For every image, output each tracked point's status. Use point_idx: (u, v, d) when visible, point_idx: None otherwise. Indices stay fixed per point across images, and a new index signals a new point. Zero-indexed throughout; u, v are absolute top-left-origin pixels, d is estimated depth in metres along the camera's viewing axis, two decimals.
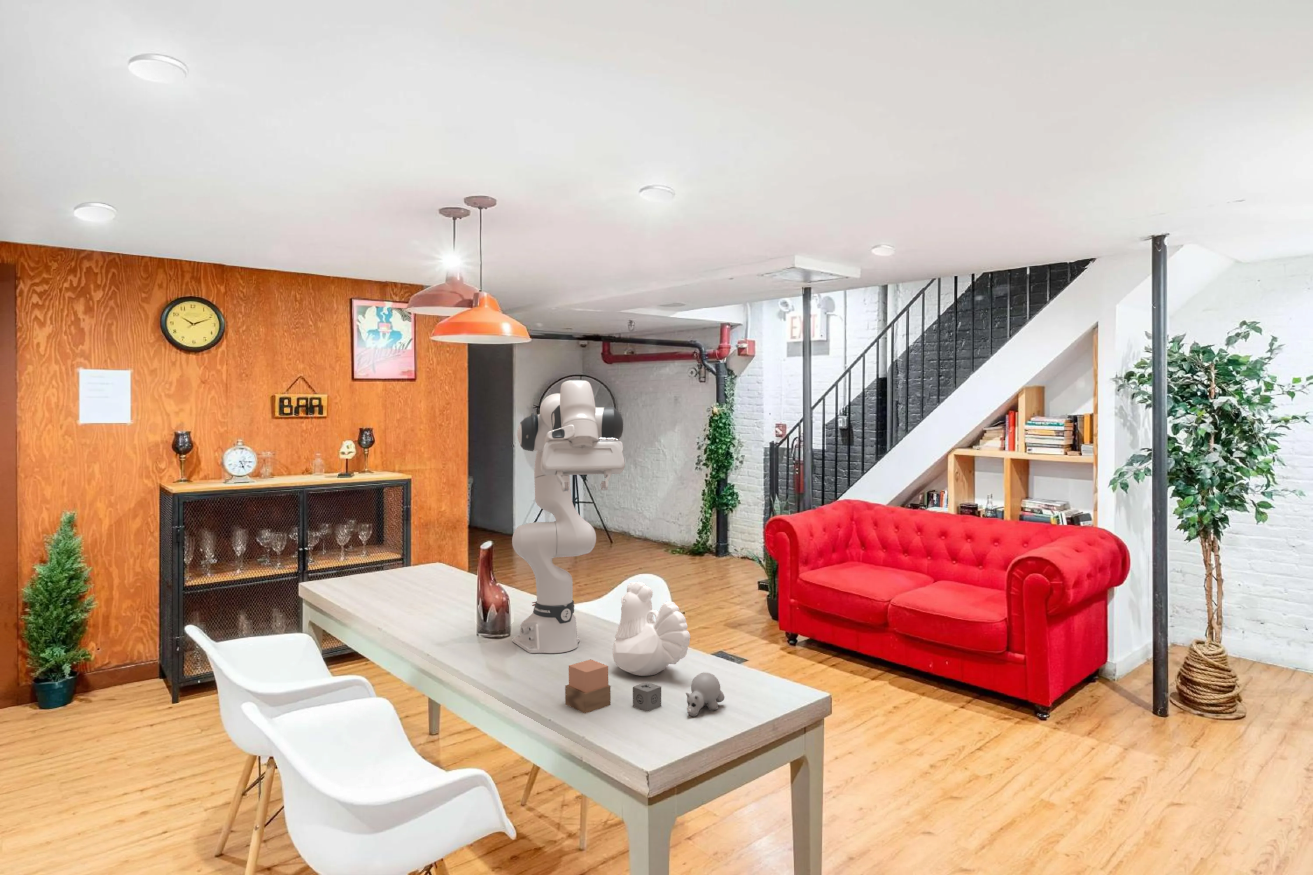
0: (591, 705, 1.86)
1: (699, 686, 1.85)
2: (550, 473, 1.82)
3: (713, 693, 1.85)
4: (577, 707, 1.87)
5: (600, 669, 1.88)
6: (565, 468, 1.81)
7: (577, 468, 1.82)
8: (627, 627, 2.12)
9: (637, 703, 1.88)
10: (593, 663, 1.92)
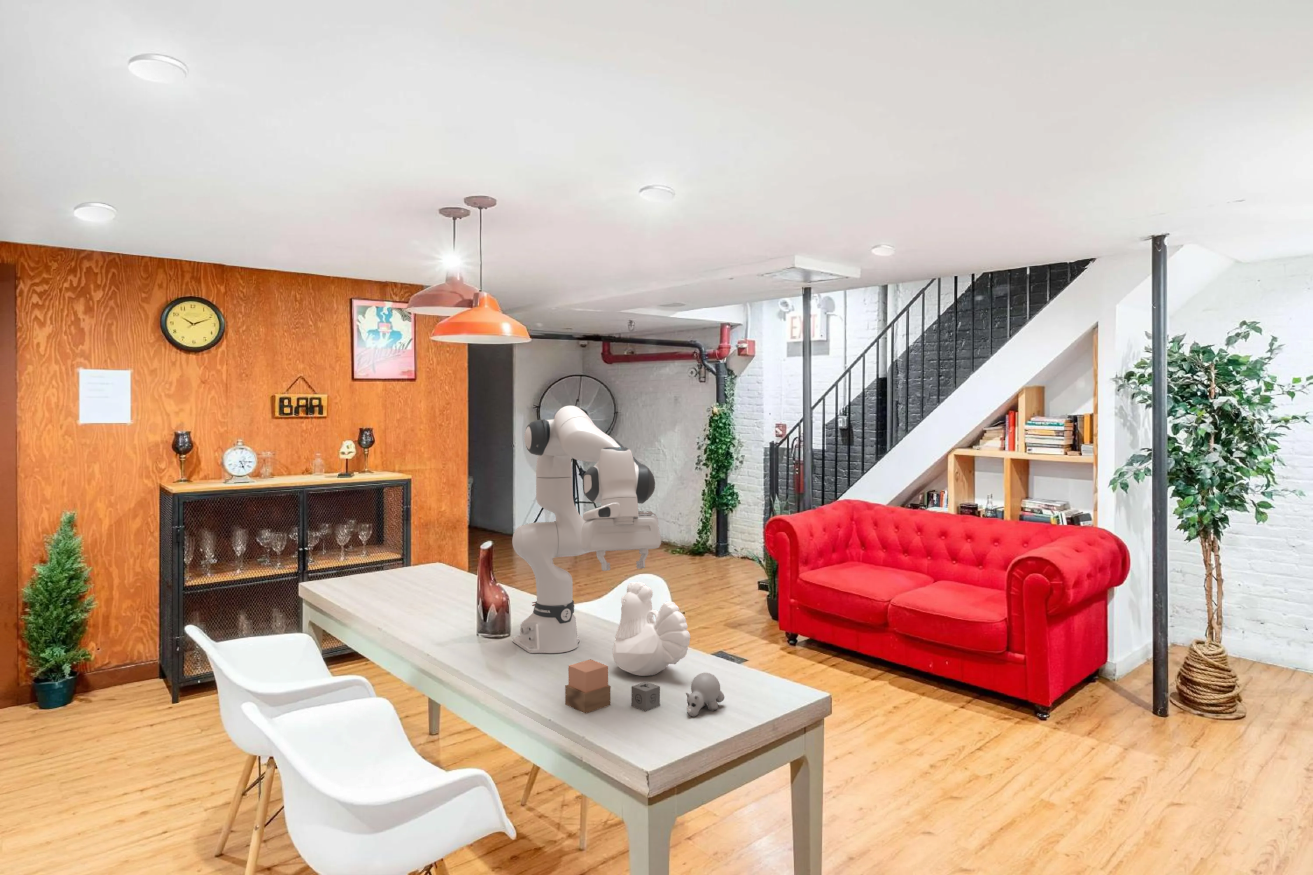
0: (591, 705, 1.86)
1: (699, 686, 1.85)
2: (592, 551, 1.79)
3: (713, 694, 1.85)
4: (577, 707, 1.87)
5: (600, 669, 1.88)
6: (608, 548, 1.79)
7: (619, 548, 1.81)
8: (627, 627, 2.12)
9: (636, 703, 1.88)
10: (593, 663, 1.91)
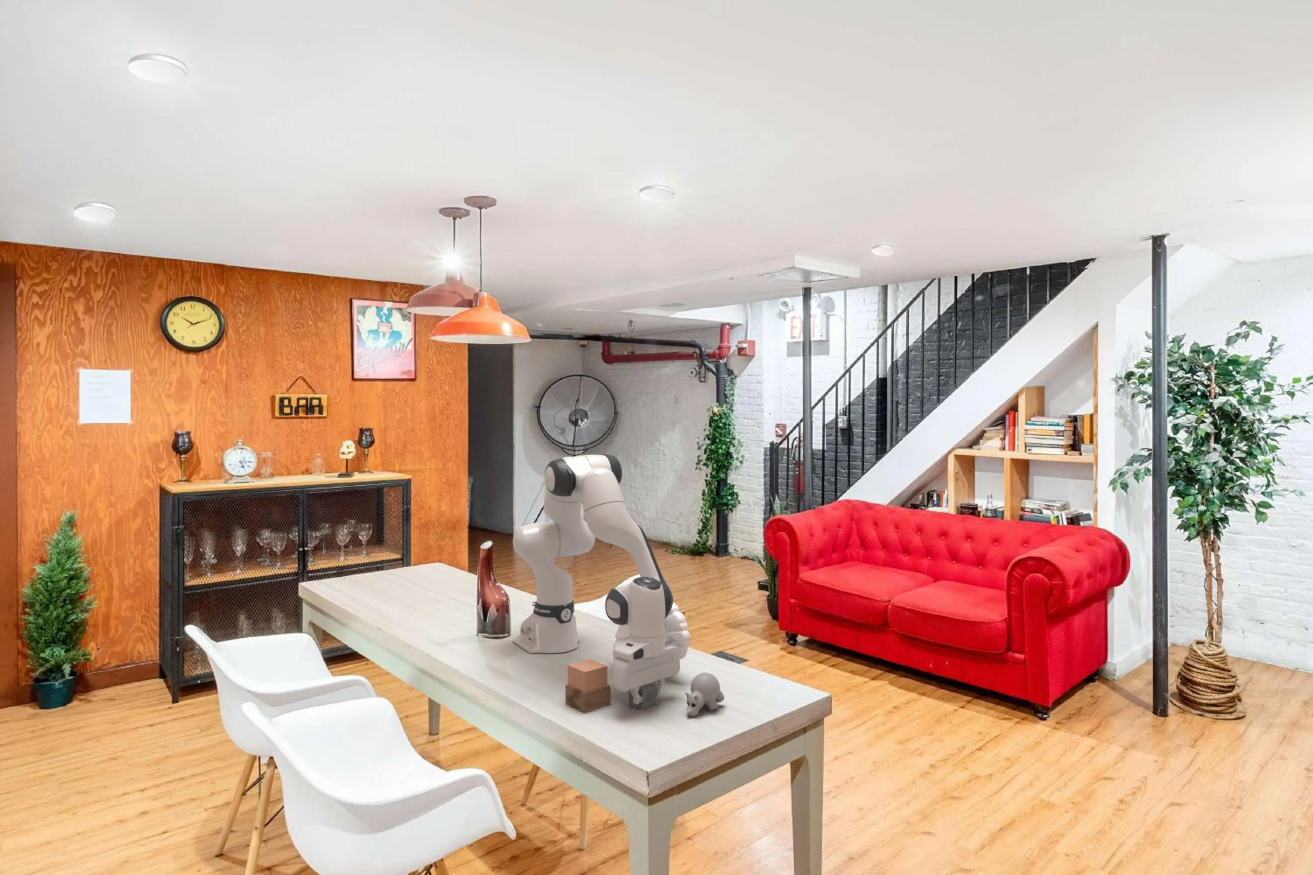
0: (591, 705, 1.86)
1: (699, 686, 1.85)
2: None
3: (713, 694, 1.84)
4: (577, 706, 1.87)
5: (599, 669, 1.88)
6: (638, 686, 1.84)
7: (646, 683, 1.86)
8: (627, 627, 2.12)
9: (632, 701, 1.89)
10: (592, 663, 1.92)
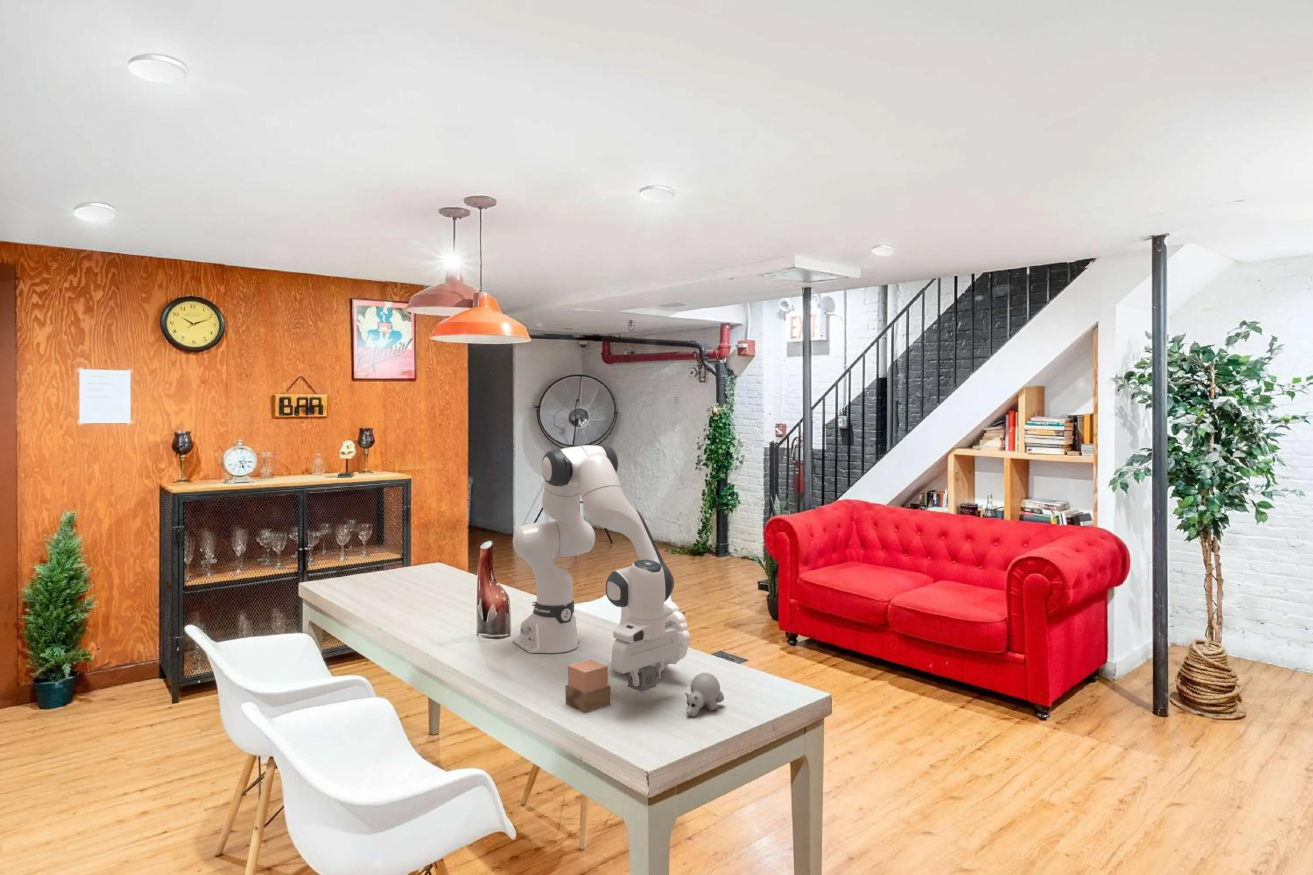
0: (591, 705, 1.86)
1: (699, 686, 1.85)
2: None
3: (713, 694, 1.84)
4: (577, 707, 1.87)
5: (599, 670, 1.88)
6: (637, 668, 1.85)
7: (646, 665, 1.87)
8: None
9: (632, 683, 1.89)
10: (592, 663, 1.91)
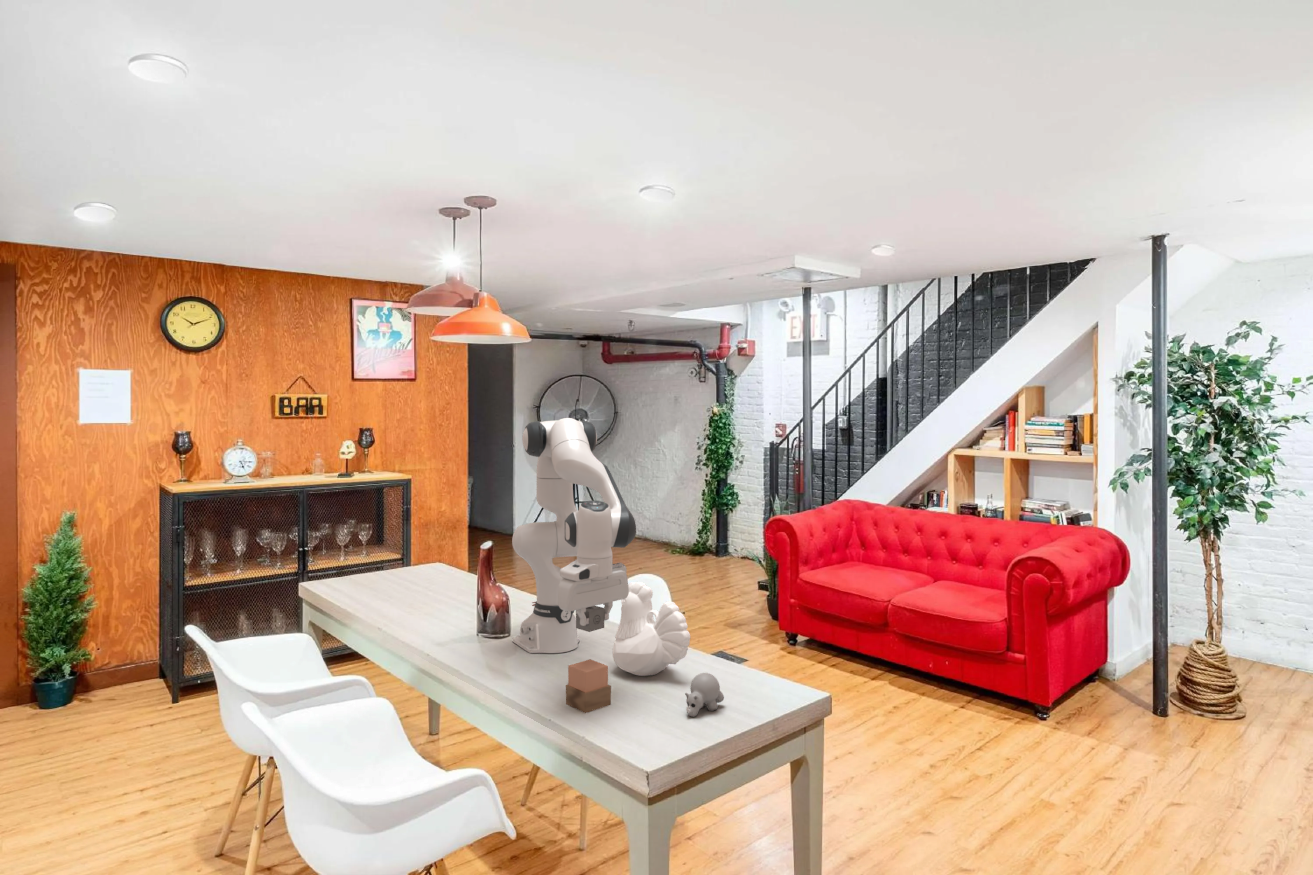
0: (592, 705, 1.86)
1: (699, 686, 1.85)
2: None
3: (713, 694, 1.84)
4: (578, 706, 1.87)
5: (600, 669, 1.88)
6: (584, 607, 1.85)
7: (593, 605, 1.87)
8: (627, 627, 2.12)
9: None
10: (593, 663, 1.92)
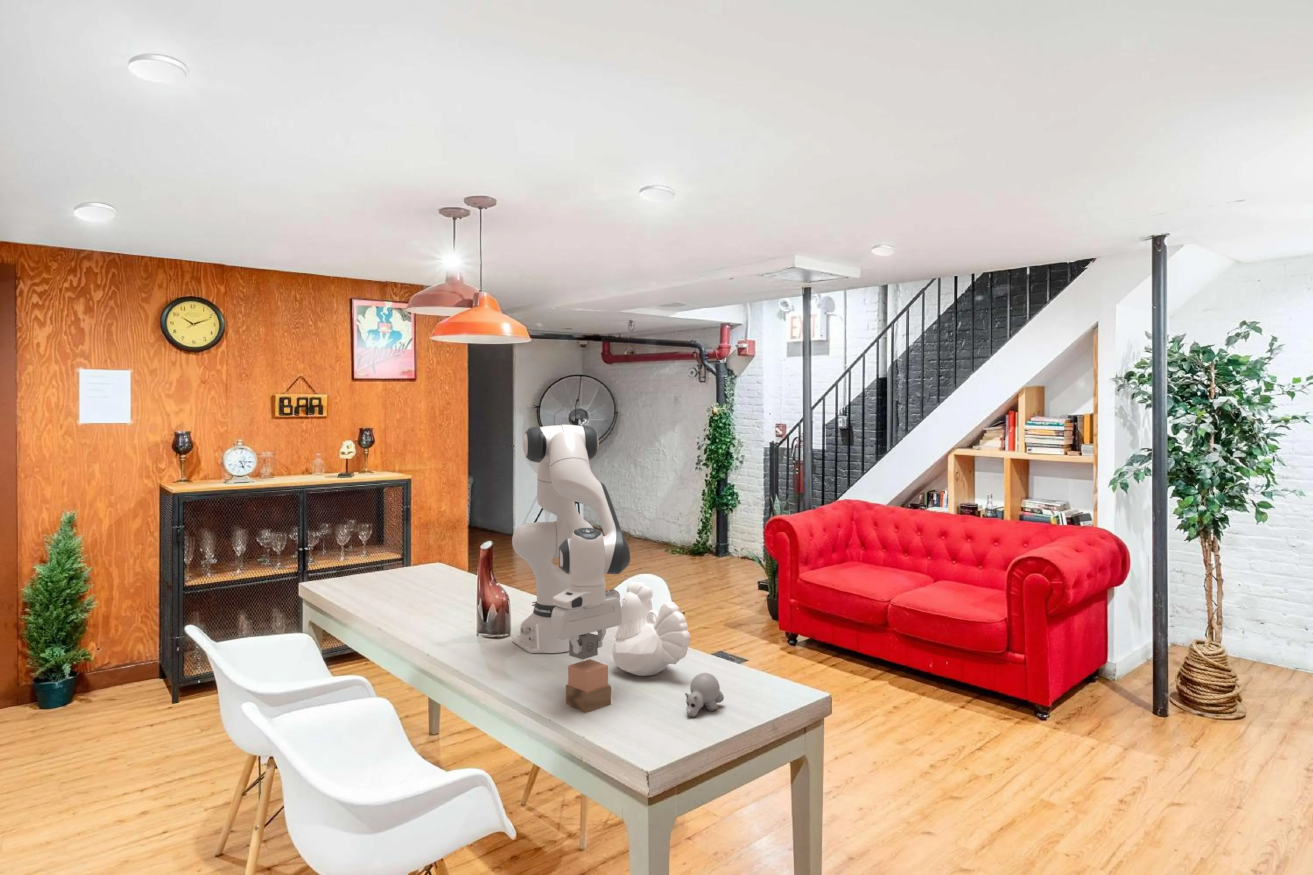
0: (592, 705, 1.86)
1: (699, 686, 1.84)
2: None
3: (713, 694, 1.84)
4: (578, 706, 1.87)
5: (600, 669, 1.88)
6: (577, 635, 1.85)
7: (586, 632, 1.87)
8: (627, 627, 2.12)
9: None
10: (592, 663, 1.92)
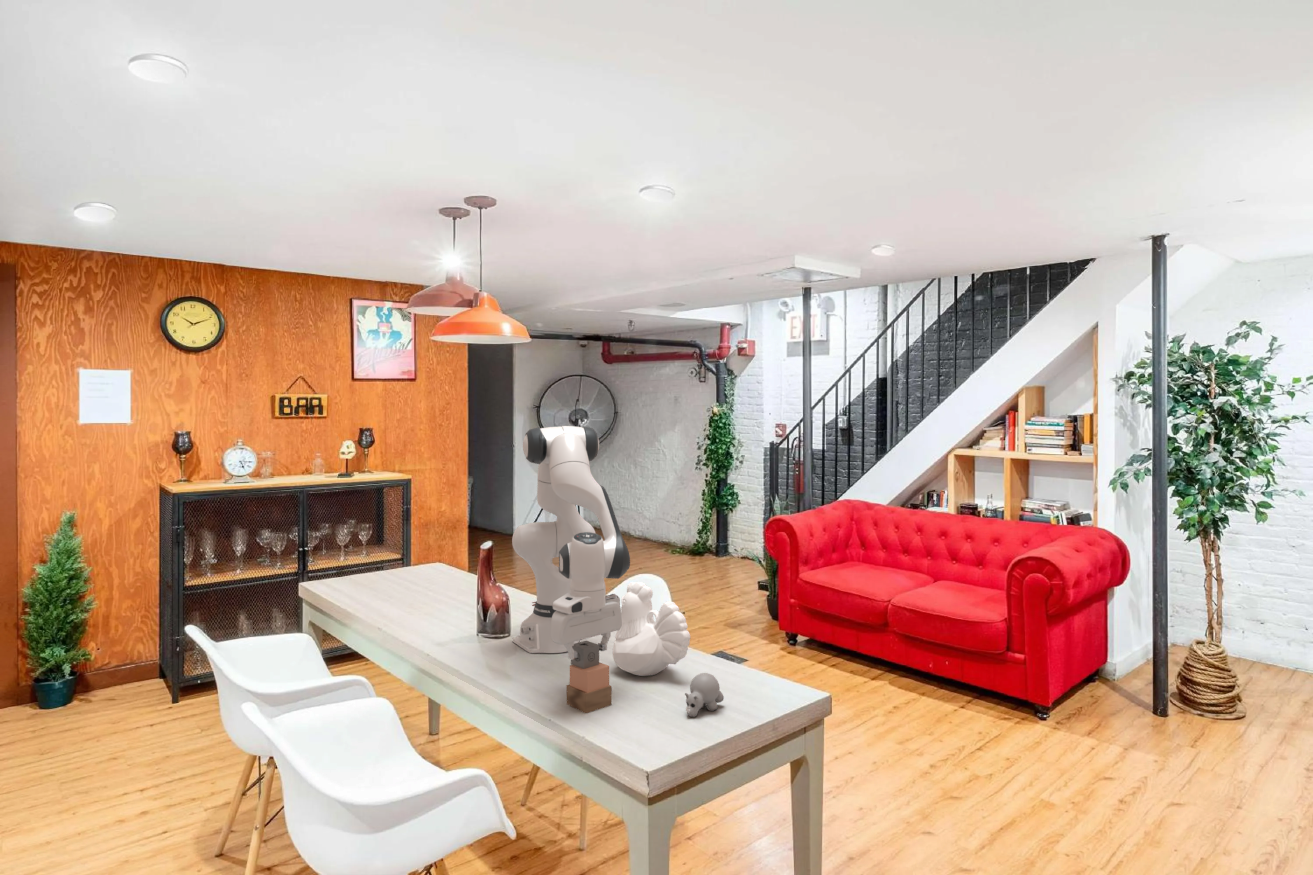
0: (592, 705, 1.86)
1: (699, 686, 1.84)
2: None
3: (712, 694, 1.84)
4: (578, 707, 1.87)
5: (601, 669, 1.88)
6: (577, 639, 1.85)
7: (586, 637, 1.87)
8: (627, 627, 2.12)
9: (575, 661, 1.90)
10: None
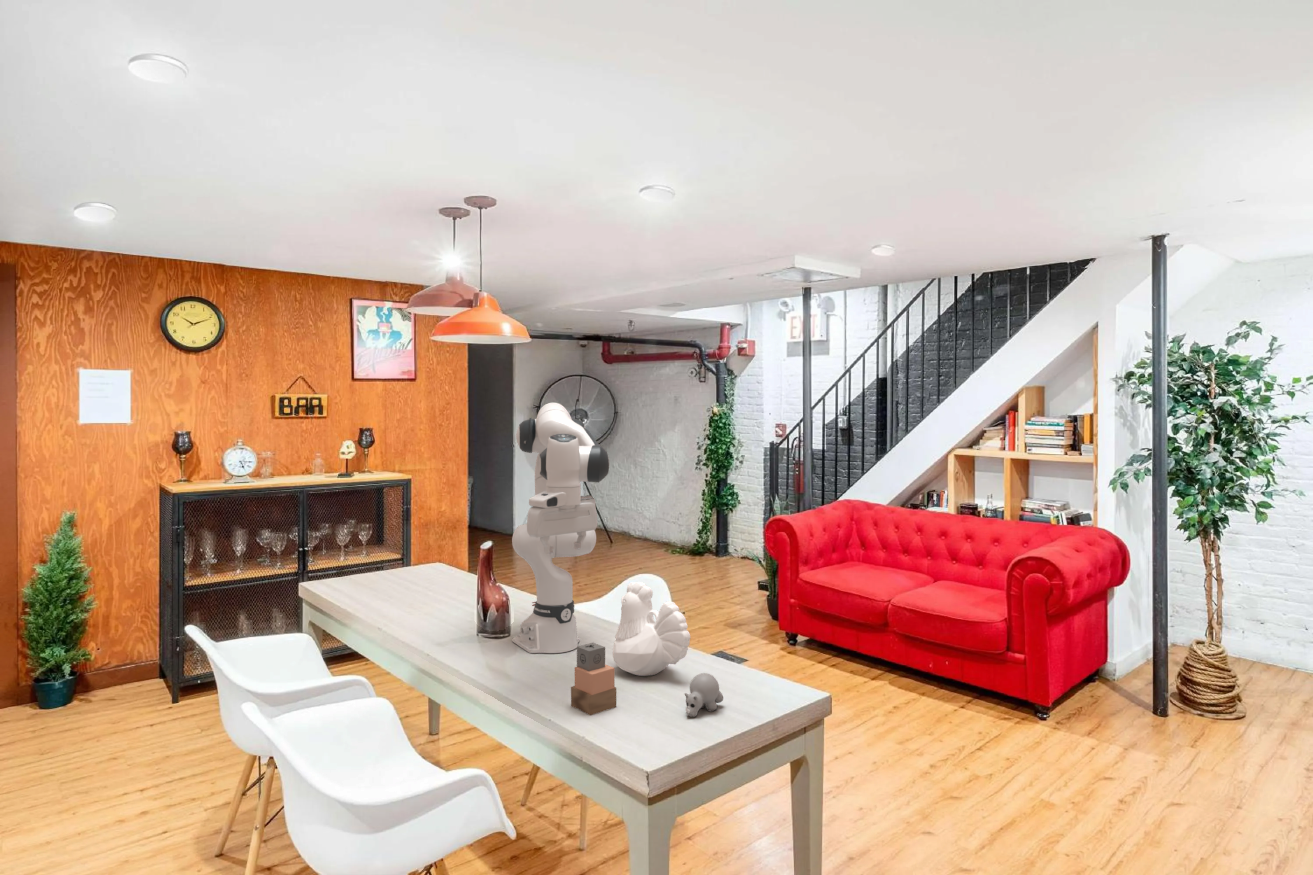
0: (596, 707, 1.85)
1: (698, 687, 1.84)
2: None
3: (712, 694, 1.84)
4: (583, 708, 1.86)
5: (606, 672, 1.86)
6: (552, 534, 1.92)
7: (562, 533, 1.94)
8: (627, 627, 2.12)
9: (580, 663, 1.88)
10: None
